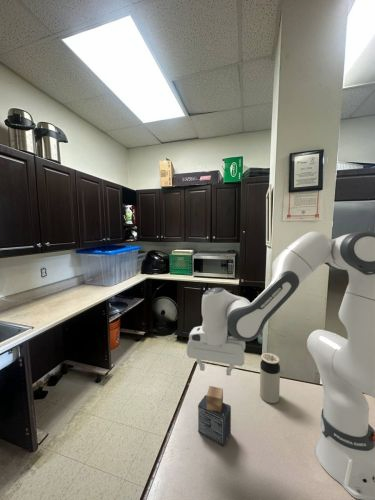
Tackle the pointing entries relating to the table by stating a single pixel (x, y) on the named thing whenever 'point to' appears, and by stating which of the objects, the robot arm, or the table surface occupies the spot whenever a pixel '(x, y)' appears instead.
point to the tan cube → (214, 398)
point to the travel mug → (269, 378)
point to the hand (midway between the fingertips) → (215, 372)
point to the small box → (214, 422)
